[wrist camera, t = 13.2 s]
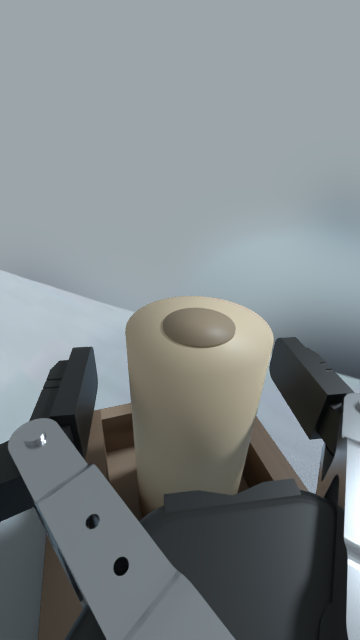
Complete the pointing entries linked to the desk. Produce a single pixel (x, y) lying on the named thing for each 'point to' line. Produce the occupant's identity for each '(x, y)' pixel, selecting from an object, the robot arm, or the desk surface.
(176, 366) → the paper roll
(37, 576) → the desk surface
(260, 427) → the roll stand
